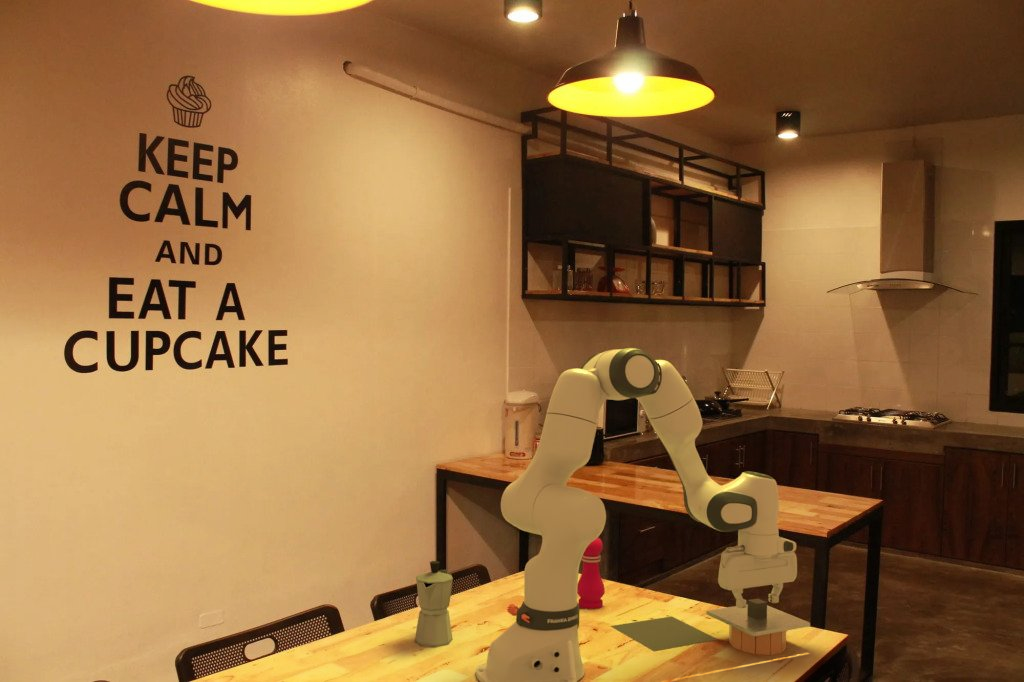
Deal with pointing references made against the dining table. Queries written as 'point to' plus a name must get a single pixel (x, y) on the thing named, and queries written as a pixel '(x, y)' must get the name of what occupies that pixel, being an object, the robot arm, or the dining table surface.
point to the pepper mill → (591, 578)
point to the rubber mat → (663, 633)
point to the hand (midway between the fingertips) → (757, 604)
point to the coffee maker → (434, 607)
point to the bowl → (757, 642)
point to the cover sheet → (759, 624)
